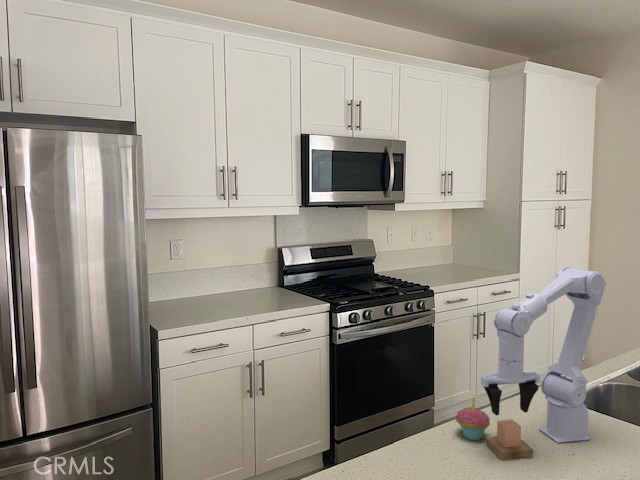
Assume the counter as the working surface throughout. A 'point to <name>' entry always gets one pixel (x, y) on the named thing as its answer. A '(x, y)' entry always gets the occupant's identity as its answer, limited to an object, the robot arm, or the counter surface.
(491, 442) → the base
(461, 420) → the cupcake
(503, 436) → the block
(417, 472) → the counter surface
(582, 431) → the robot arm
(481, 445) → the counter surface
